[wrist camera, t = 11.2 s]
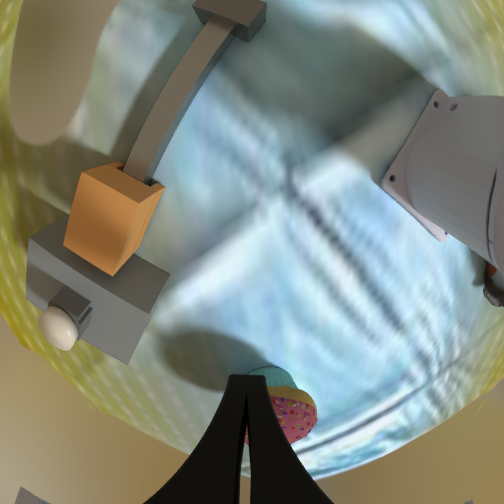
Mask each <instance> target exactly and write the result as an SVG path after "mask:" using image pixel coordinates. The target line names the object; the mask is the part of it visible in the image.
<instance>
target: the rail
mask: <svg viewBox="0 0 504 504" xmlns="http://www.w3.org/2000/svg"><path fill="white" fill-rule="evenodd" d="M266 7H267V3H265V2H262V1H260V0H197V1H196V2H195V3H194V4H193V8H194V10H195V12H196V14H197V16H198V18H199V19H200V21H201V23H204V24H206V25H205V26H204V27H203V29H202V30H201V31H200V33H199V34H198V35H197V37H196V38H195V40H194V41H193V42H192V44H191V45H190V47H189V48H188V50H187V51H186V53H185V54H184V56H183V57H182V59H181V60H180V62H179V63H178V65H177V66H176V68H175V70H174V71H173V73H172V74H171V76H170V78H169V79H168V81H167V83H166V84H165V86H164V88H163V90H162V91H161V93H160V95H159V97H158V98H157V100H156V102H155V104H154V106H153V108H152V110H151V111H150V113H149V115H148V117H147V119H146V121H145V123H144V125H143V127H142V129H141V131H140V133H139V135H138V138H137V140H136V142H135V144H134V146H133V148H132V151H131V153H130V155H129V157H128V160H127V162H126V165H125V167H124V169H123V172H124V173H126V174H128V175H129V176H131V177H133V178H135V179H137V180H139V181H141V182H142V183H144V184H146V185H149V183H150V181H151V179H152V177H153V175H154V172H155V170H156V168H157V166H158V164H159V162H160V160H161V158H162V156H163V154H164V152H165V150H166V148H167V146H168V144H169V142H170V140H171V138H172V136H173V134H174V132H175V130H176V129H177V127H178V125H179V123H180V121H181V119H182V118H183V116H184V114H185V112H186V111H187V109H188V107H189V105H190V104H191V102H192V100H193V99H194V97H195V95H196V94H197V92H198V90H199V89H200V87H201V86H202V84H203V82H204V81H205V79H206V78H207V76H208V75H209V73H210V72H211V70H212V69H213V67H214V66H215V64H216V63H217V61H218V60H219V58H220V57H221V55H222V54H223V52H224V51H225V50H226V48H227V47H228V45H229V44H230V43H231V41H232V40H233V39H234V37H235V36H236V37H239V38H241V39H243V40H245V41H248V42H250V40H251V39H252V38H253V36H254V35H255V34H256V32H257V31H258V30H259V29H260V27H261V26H262V25H263V23H264V22H265V18H266Z"/></svg>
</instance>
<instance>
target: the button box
mask: <svg viewBox="0 0 504 504" xmlns="http://www.w3.org/2000/svg"><path fill="white" fill-rule="evenodd" d="M68 220H69V215H68V214H67V215H66V216H64V217H62V218H60V219H59V220H57V221H55V222H53V223H52V224H50V225H48V226H47V227H45V228H43V229H42V230H40V231H38V232H37V233H35V234H34V235H32V236H30V237H29V242H28V254H27V273H26V299H27V300H28V301H29V302H31V303H32V304H33V305H35V306H36V307H37V308H38V309H40V310H41V311H42V312H44V311H45V310H46V309H47V308H48V307H50V306H53V307H57V308H59V309H61V310H62V311H64V312H65V313H66V314H67V315H68V316H69V317H70V318H71V319H72V320H74V321H73V322H74V324H75V326H76V328H77V330H78V338H77V340H79V339H80V338H82V339H83V340H85V341H86V342H88V343H90V344H91V345H93V346H95V347H96V348H98V349H100V350H101V351H103V352H105V353H106V354H108V355H110V356H112V357H114V358H115V359H117V360H119V361H121V362H123V363H125V364H127V365H128V363H129V361H130V359H131V357H132V355H133V353H134V351H135V349H136V346H137V344H138V342H139V340H140V338H141V336H142V334H143V332H144V330H145V328H146V326H147V324H148V322H149V319H150V317H151V315H152V313H153V310H154V308H155V306H156V304H157V302H158V300H159V297H160V295H161V293H162V291H163V289H164V287H165V285H166V283H167V281H168V279H169V276H170V274H168V273H167V272H165V271H163V270H161V269H159V268H157V267H156V266H154V265H152V264H150V263H148V262H147V261H145V260H143V259H141V258H140V257H138V256H136V255H134V254H132V255H131V256H130V257H129V259H128V260H127V261H126V262H125V263H124V264H123V265H122V266H121V267H120V269H119V270H118V271H117V272H116V273H115V274H114V275H113V276H111V275H109V274H108V273H106V272H104V271H103V270H101V269H100V268H98V267H96V266H95V265H93V264H91V263H90V262H88V261H87V260H85V259H84V258H82V257H81V256H79V255H77V254H76V253H74V252H73V251H71V250H70V249H68V248H67V247H65V246H64V245H63V243H64V238H65V233H66V229H67V224H68ZM75 342H76V341H75Z"/></svg>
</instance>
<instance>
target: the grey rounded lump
mask: <svg viewBox="0 0 504 504" xmlns="http://www.w3.org/2000/svg"><path fill="white" fill-rule="evenodd" d="M483 293H484V296H485V297H486V298H487V299H488V301H489V302H490V303H491V304H492V305H494V306H496V307H501V306H503V307H504V276H503V274H502V272H501V271H500V270H498V269H497V268H496V267H494V266H493V265H492V264H491V263H489V262H488V261H487V263H486V271H485V286H484V289H483Z"/></svg>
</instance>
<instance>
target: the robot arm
mask: <svg viewBox="0 0 504 504" xmlns="http://www.w3.org/2000/svg"><path fill="white" fill-rule="evenodd" d="M434 102H435V103H436V107H435V106H434ZM391 175H393V177H394V179H393V181H390V176H391ZM381 187H382V188H383V190H385V191H386V192H387V193H388V194H389V195H391V196H392V197H393V198H394V199H395V200H396V201H397V202H399V203H400V204H401V205H402V206H403V207H404V208H405V209H406V210H407V211H409V212H410V213H411V214H412V215H413V216H414V217H415V218H416V219H417V220H418V221H419V222H420V223H421V224H422V225H423V226H424V227H425V228H426V229H427V230H428V231H430V232H431V233H432V234H433V235H434V237H435V238H436V239H437V240H439V241H440V242H444V241H445V240H446V239H447V237H448V236H449V234H450V235H452V236H453V237H455V238H456V239H458V240H459V241H461V242H462V243H463V244H465V245H466V246H468V247H469V248H471V249H472V250H473V251H475V252H476V253H477V254H479V255H480V256H481V257H483V258H484V259H485V260H487V261H488V262H489V263H491V264H492V265H493V266H494V267H496V268H497V269H498V270H500V271H501V272H502V274H503V276H504V97H503V96H460V97H448V96H447V95H446V94H445V93H444V91H442V90H440V89H439V90H435V92H434V93H433V95H432V97H431V99H430V101H429V103H428V104H427V106H426V108H425V110H424V112H423V113H422V115H421V117H420V119H419V120H418V122H417V124H416V125H415V127H414V129H413V131H412V132H411V134H410V136H409V137H408V139H407V141H406V142H405V144H404V146H403V147H402V149H401V150H400V152H399V154H398V155H397V157H396V158H395V160H394V162H393V163H392V165H391V166H390V168H389V169H388V171H387V173H386V174H385V176H384V177H383V179H382V181H381ZM445 231H446V232H445ZM444 232H445V233H444ZM246 428H247V430H248V443H249V455H250V468H251V491H250V504H334V503H333V502H332V501H331V500H330V499H329V498H328V497H327V496H326V494H325V493H324V492H323V491H322V490H321V489H320V488H319V486H318V485H317V484H316V482H315V481H314V480H313V479H312V477H311V476H310V475H309V473H308V472H307V471H306V469H305V468H304V466H303V465H302V463H301V462H300V460H299V459H298V457H297V455H296V454H295V452H294V450H293V449H292V447H291V445H290V443H289V441H288V440H287V438H286V436H285V434H284V432H283V429H282V427H281V425H280V423H279V420H278V418H277V415H276V413H275V411H274V408H273V405H272V402H271V399H270V396H269V392H268V388H267V383H266V377H265V376H264V375H237V374H232V375H230V376H229V379H228V383H227V387H226V390H225V392H224V395H223V398H222V400H221V402H220V405H219V407H218V409H217V411H216V413H215V415H214V417H213V419H212V421H211V423H210V425H209V426H208V428H207V430H206V432H205V433H204V435H203V437H202V438H201V440H200V442H199V443H198V445H197V446H196V448H195V449H194V450H193V452H192V453H191V455H190V456H189V457H188V459H187V460H186V461H185V462H184V464H183V465H182V466H181V467H180V469H179V470H178V471H177V472H176V473H175V474H174V475H173V476H172V478H171V479H170V480H169V481H168V482H167V483H166V484H165V485H164V486H163V487H162V488H161V489H160V490H159V491H157V492H156V493H155V494H154V495H153V496H152V497H151V498H149V499H148V500H147V501H146V502H144V503H143V504H239V498H240V473H241V464H242V457H243V450H244V443H245V435H246ZM15 504H50V503H48V502H46V501H45V500H42V499H40V498H38V497H37V496H35V495H33V494H32V493H30V492H29V491H27V490H26V489H24V488H22V487H21V488H20V490H19V492H18V495H17V498H16V501H15ZM464 504H473V501H472V500H469V501H467V502H465V503H464Z"/></svg>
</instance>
